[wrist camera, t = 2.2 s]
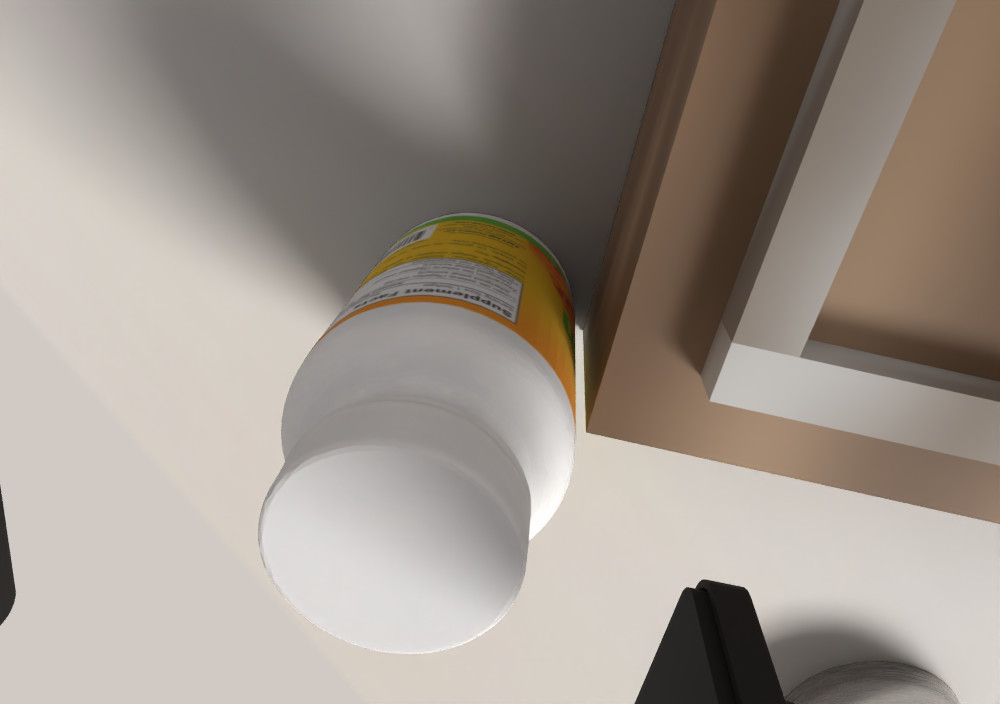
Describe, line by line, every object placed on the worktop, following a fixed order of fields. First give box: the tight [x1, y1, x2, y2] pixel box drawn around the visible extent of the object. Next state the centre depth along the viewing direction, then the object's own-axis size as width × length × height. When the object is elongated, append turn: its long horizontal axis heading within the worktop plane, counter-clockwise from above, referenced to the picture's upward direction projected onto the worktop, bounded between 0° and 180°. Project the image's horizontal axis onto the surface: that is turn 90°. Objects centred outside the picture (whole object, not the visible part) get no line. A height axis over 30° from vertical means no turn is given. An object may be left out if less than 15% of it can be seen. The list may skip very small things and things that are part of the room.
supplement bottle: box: [258, 213, 576, 654], centre depth 15 cm, size 5×5×10 cm
